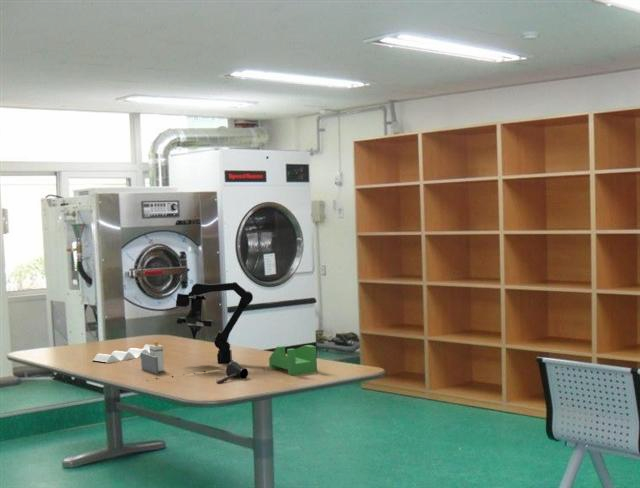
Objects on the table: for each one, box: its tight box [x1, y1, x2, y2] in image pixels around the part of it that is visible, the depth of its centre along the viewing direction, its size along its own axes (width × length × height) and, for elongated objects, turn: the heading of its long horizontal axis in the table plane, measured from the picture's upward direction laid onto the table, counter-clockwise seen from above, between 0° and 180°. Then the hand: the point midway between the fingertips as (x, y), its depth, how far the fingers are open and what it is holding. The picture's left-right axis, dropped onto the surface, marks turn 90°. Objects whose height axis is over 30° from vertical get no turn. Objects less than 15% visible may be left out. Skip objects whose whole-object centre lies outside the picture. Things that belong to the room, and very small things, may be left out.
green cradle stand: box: [268, 344, 318, 376], centre depth 396 cm, size 24×13×12 cm, turn 27°
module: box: [149, 341, 165, 372], centre depth 410 cm, size 4×7×14 cm, turn 31°
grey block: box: [140, 353, 160, 375], centre depth 411 cm, size 14×20×9 cm
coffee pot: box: [215, 361, 249, 385], centre depth 380 cm, size 8×18×8 cm
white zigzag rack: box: [92, 343, 151, 365], centre depth 464 cm, size 13×35×5 cm, turn 137°
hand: (194, 338), depth 427 cm, fingers closed
